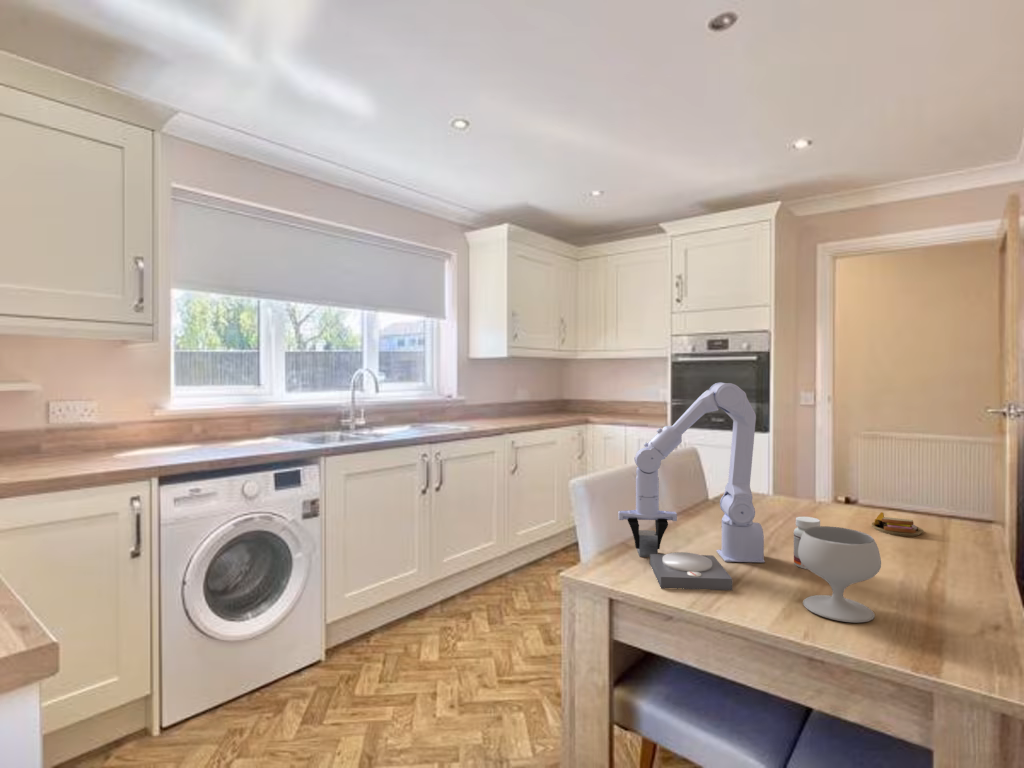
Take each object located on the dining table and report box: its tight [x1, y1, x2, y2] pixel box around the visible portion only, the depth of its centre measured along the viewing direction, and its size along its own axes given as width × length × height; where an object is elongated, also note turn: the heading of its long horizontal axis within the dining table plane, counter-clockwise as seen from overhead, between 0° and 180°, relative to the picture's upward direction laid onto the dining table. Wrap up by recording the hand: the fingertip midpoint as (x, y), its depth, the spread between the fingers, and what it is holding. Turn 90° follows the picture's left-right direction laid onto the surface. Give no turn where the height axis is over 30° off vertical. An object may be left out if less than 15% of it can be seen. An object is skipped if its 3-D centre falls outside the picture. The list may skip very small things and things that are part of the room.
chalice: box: [798, 525, 882, 624], centre depth 108 cm, size 14×14×15 cm
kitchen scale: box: [649, 551, 733, 591], centre depth 126 cm, size 15×15×3 cm
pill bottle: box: [793, 516, 821, 571], centre depth 132 cm, size 6×6×11 cm
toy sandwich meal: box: [870, 511, 924, 537], centre depth 161 cm, size 12×14×5 cm
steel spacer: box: [636, 529, 659, 558], centre depth 142 cm, size 4×4×6 cm
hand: (647, 547), depth 142 cm, fingers closed on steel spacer, 4 cm apart
